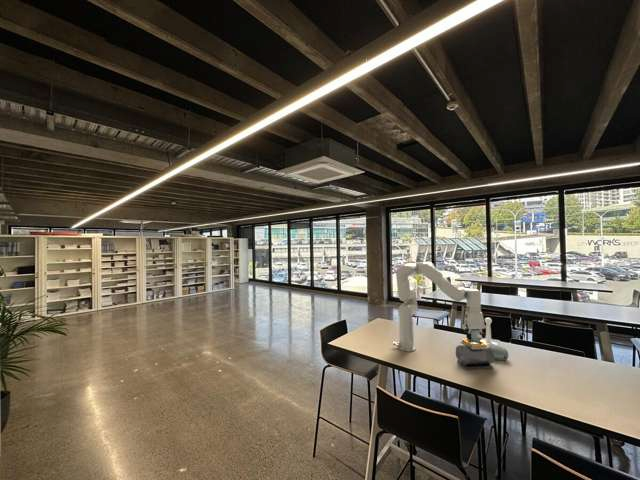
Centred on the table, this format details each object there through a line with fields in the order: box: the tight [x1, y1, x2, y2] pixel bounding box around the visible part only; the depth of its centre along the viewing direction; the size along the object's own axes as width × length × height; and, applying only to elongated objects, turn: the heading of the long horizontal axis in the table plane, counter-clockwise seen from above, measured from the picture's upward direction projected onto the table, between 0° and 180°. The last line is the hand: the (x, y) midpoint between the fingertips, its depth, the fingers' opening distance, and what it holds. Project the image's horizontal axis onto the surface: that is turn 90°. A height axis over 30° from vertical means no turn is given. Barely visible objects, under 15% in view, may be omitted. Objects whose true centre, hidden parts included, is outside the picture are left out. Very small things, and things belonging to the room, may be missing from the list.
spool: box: [488, 345, 509, 361], centre depth 170 cm, size 14×10×10 cm
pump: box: [468, 329, 483, 343], centre depth 159 cm, size 6×9×7 cm
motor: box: [455, 338, 495, 371], centre depth 160 cm, size 19×11×14 cm, turn 95°
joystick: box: [480, 317, 499, 346], centre depth 192 cm, size 11×8×20 cm
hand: (474, 338), depth 160 cm, fingers closed on pump, 6 cm apart
